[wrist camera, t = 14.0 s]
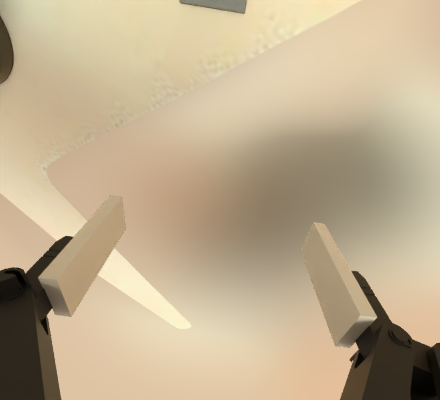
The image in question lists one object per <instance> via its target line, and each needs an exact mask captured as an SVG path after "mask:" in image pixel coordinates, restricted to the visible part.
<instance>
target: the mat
mask: <svg viewBox="0 0 440 400" xmlns="http://www.w3.org/2000/svg"><path fill="white" fill-rule="evenodd" d="M180 3H184V4H190V5H196V6H202V7H208V8H214V9H221V10H227V11H233V12H239V13H245V6H246V0H180Z"/></svg>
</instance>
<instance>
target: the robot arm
mask: <svg viewBox="0 0 440 400" xmlns="http://www.w3.org/2000/svg"><path fill="white" fill-rule="evenodd" d="M12 63H13V52H12V46H11V42H10V38H9V35H8V33H7V30H6V28H5V26H4V24H3V22H2V20H1V18H0V83H2V82H3V81H4V80H5V79H6V78H7V77H8V75H9V74H10V71H11V68H12ZM125 229H126V228H125V219H124V211H123V202H122V197H117V196H110V197H109V198H108V199H107V200H106V201H105V202H104V203H103V204H102V206H101V207H100V208H99V209H98V210H97V211H96V212H95V214H94V215H93V216H92V217H91V218H90V219H89V220H88V221H87V223H86V224H85V225H84V226H83V227H82V228H81V229H80V231H79V232H78V233H77V234H76V235H75V236H74V237H71V236H65V237H63V238H61V239H60V240H58V241H56V242H55V243H54V244H53V245H52V246H51V247H50V249H49V251H47V252H46V253H45V254H44V255H43V257H41V258H40V259H39V260H38V261H37V262H36V263H35V264H34V265H33V266H32V267H31V268H30V269H29V270H28V272H27V273H26V274H25V272H24V270H23V269H21V268H8V269H4V270H1V271H0V400H61V396H60V390H59V383H58V377H57V371H56V365H55V359H54V352H53V346H52V340H51V334H50V328H49V321H48V318H47V314H48V313H49V311H50V310H51V309H53V311H54V313H55V315H61V316H72V315H73V313H74V311H75V310H76V308H77V307H78V305H79V304H80V302H81V300H82V299H83V297H84V295H85V294H86V292H87V291H88V289H89V287H90V286H91V284H92V283H93V281H94V279H95V278H96V276H97V274H98V273H99V271H100V270H101V268H102V266H103V265H104V263H105V261H106V260H107V258H108V257H109V255H110V253H111V252H112V250H113V249H114V247H115V245H116V244H117V242H118V240H119V239H120V237H121V235H122V234H123V232H124V231H125ZM301 254H302V256H303V259H304V262H305V265H306V267H307V270H308V273H309V275H310V278H311V281H312V284H313V286H314V289H315V292H316V295H317V297H318V300H319V303H320V306H321V308H322V311H323V314H324V316H325V319H326V322H327V325H328V328H329V330H330V333H331V336H332V338H333V341H334V344H335V346H339V347H348V348H350V347H351V346H352V345H353V343H355V342H356V344H357V346H358V348H359V350H358V351H357V352H356V353H355V354H354V355H353V356H352V357H351V358H350V361H351V362H352V360H353V363H352V366H351V369H350V372H349V375H348V378H347V381H346V384H345V387H344V390H343V393H342V396H341V398H340V400H440V343H436V344H435V345H434V346H433V347H429V346H427V345H425V344H422V343H420V342H417V341H415V340H413V339H412V338H411V337H410V335H409V334H408V333H407V332H406V331H404V330H403V329H402V328H401V327H400V326H398V325H395V324H393V323H392V322H391V320H390V319H389V317H388V315H387V314H386V312H385V310H384V309H383V308H382V306H381V304H380V302H379V301H378V299H377V297H376V296H375V294H374V293H373V291H372V289H370V286H369V285H368V283H367V281H366V279H365V278H364V277H362V276H361V274H359V273H358V272H357V271H351V270H350V268H349V267H348V265H347V263H346V261H345V260H344V258H343V256H342V254H341V252H340V251H339V249H338V247H337V245H336V244H335V242H334V240H333V238H332V237H331V235H330V233H329V231H328V229H327V228H326V226H325V224H322V223H315V222H313V224H312V226H311V229H310V231H309V233H308V235H307V238H306V240H305V242H304V245H303V247H302V249H301Z"/></svg>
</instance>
